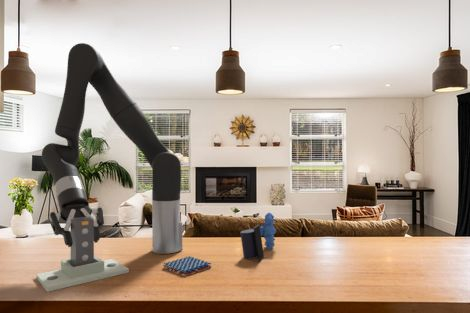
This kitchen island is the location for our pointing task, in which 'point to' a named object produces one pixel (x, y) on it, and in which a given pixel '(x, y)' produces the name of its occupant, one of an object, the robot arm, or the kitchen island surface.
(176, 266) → the woven mat
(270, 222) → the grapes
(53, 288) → the bracket
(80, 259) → the tall grey pillar
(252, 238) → the speaker
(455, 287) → the kitchen island surface
